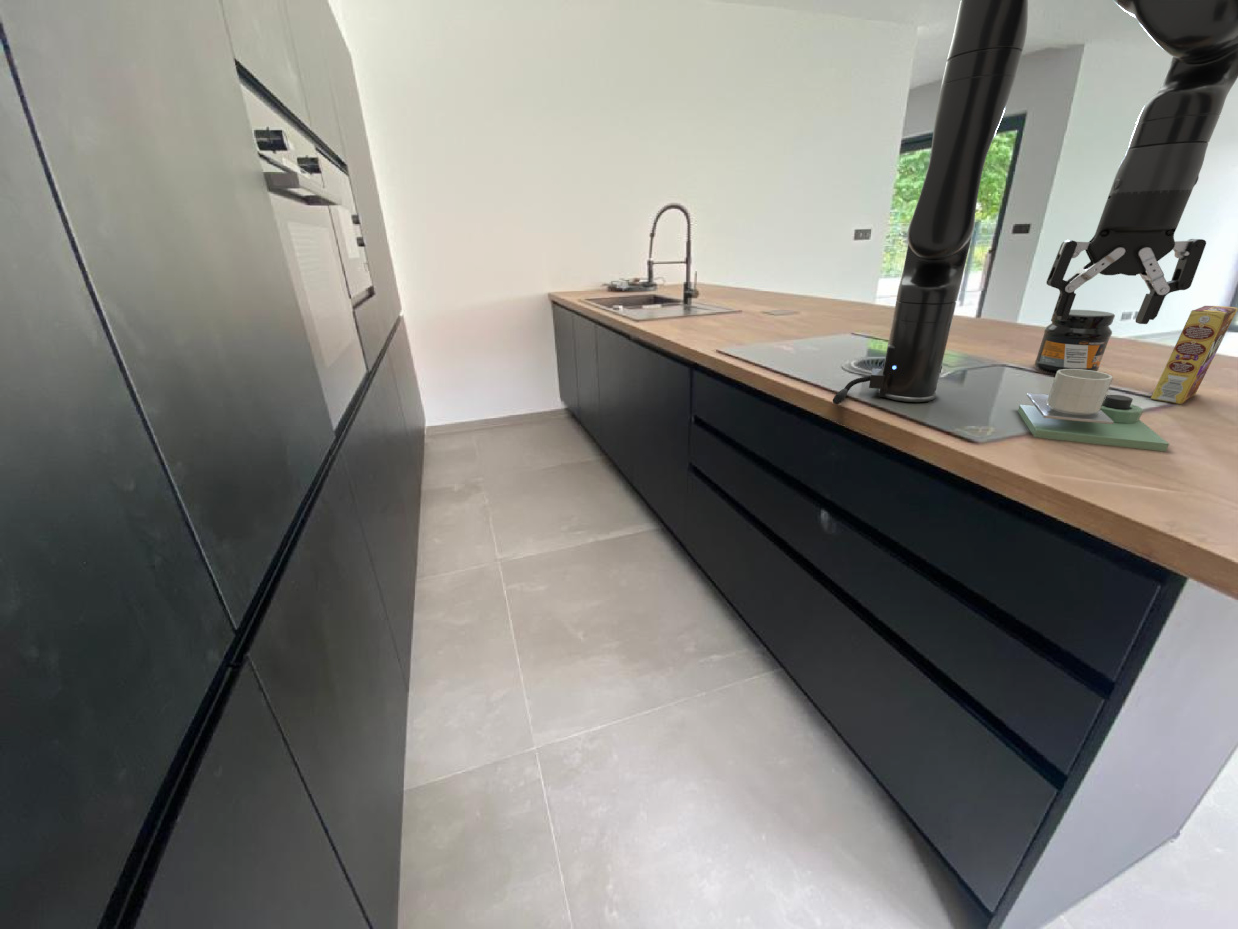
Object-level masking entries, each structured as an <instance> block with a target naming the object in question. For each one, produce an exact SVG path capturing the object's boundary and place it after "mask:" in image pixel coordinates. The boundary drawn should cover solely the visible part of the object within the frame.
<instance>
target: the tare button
mask: <svg viewBox="0 0 1238 929" xmlns="http://www.w3.org/2000/svg"><path fill="white" fill-rule="evenodd" d="M1132 403H1133V398H1132V397H1130V396H1127V395H1121V394H1106V397H1105V400H1104V403H1103V406H1104V407H1107V408H1113V409H1120V410H1129V408H1130V405H1131V404H1132Z"/></svg>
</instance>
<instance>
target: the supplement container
mask: <svg viewBox="0 0 1238 929" xmlns="http://www.w3.org/2000/svg"><path fill="white" fill-rule="evenodd" d="M1115 317H1116V314H1115V313H1112V312H1109V311H1103V310H1091V309H1071V310H1070V313H1069V316H1068V318H1067V320H1066V321H1060V320H1058V319H1057V316H1056V315H1054V311H1053V313H1052V316H1051V318H1050V322H1051V323H1050V324H1048V325H1046V327H1045V328H1044V332H1043V333H1044V334H1043V335H1042V336H1043V337H1042V339H1041V342H1040V346H1039V348H1038V352H1037V356H1036V358H1035V360H1034V367H1035V368H1036V369H1037V370H1038V371H1041V372H1043V373H1047V374H1052V375H1056V373H1057V371H1058V370H1062V369H1083V370H1092V371H1098V372H1099V369H1100V365H1101V362H1102V359H1103V357H1104V354H1105V351H1106V348H1107V346H1108V344H1109V340H1110V338H1111V337H1112V335H1113V331H1112V329H1111V328H1110V326H1112V325H1113V323H1114V321H1115Z"/></svg>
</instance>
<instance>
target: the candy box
mask: <svg viewBox="0 0 1238 929" xmlns="http://www.w3.org/2000/svg"><path fill="white" fill-rule="evenodd" d="M1237 312H1238V307H1236V306H1235V307H1234V306H1225V305H1203V306H1201V307H1199V308H1196V309H1192V310H1190V314H1189V316H1188V317H1187V320H1186V322H1185V324H1184V326H1183V329H1182V331H1181V333H1180V335H1179V336H1178V339H1177V341H1176V343H1175V346H1174V348H1173V349H1172V352H1171V354H1170V356H1169V358H1168V361H1167V362H1166V364H1165V366H1164V369H1163V371H1162V373H1161V375H1160V378H1159V380H1158V382H1157V384H1156V387H1155V389H1154V391H1153V392H1152V395H1151V397H1150V399H1151V400H1154V401H1160V402H1164V403H1171V404H1176V405H1182V404H1183V403H1185V402H1186V401H1188V400H1189V399H1191V398H1193V397H1194V396H1195V395H1196V394H1197V392H1198V390H1199V388H1200V386H1201V384H1202V382H1203V380H1204V378H1205V376H1206V374H1207V372H1208V370H1209V368H1210V366H1211V364H1212V363H1213V360H1214V358H1215V357H1216V354H1217V352H1218V350H1219V348H1220V346H1221V344H1222V342H1223V340H1224V337H1225V335H1226V334H1227V331H1228V329H1229V327H1230V326H1231V324H1232V322H1233V320H1234V317H1235V315H1236V313H1237Z"/></svg>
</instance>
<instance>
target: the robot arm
mask: <svg viewBox="0 0 1238 929" xmlns="http://www.w3.org/2000/svg"><path fill="white" fill-rule="evenodd" d="M1112 2H1114V3H1115V4H1116V5H1117V6H1118V7H1119V8H1120V9H1122V10H1123V11H1124V12H1126V13H1128V14H1129V15H1130V16H1132V17H1134V18H1135V19H1136V21H1137V23H1138V24H1139V25H1140V26H1141V27H1142V28H1143V30H1144V31H1145V32H1146V33H1147V35H1148V36H1149V37H1150V38H1151V39H1152V40H1153V41H1154V43H1156V45H1157V46H1159V47H1160V48H1161V49H1162V50H1163V51H1164V52H1165V53H1167V54H1168V55H1170V56H1171V57H1172V58H1171V61H1170V64H1169V66H1168V69H1167V70H1166V74H1165V75H1164V78H1163V80H1162V83H1161V85H1160V88H1159V90H1158V92H1157V93H1155V94H1154V95H1152V96H1151V97H1150V98H1149V99H1148V100H1147V101H1146V102H1145V104H1144V106H1143V108H1142V110H1141V112H1140V114H1139V115H1138V118H1137V121H1136V123H1135V124H1136V125H1135V126H1134V130H1133V132H1132V135H1131V137H1130V141H1129V144H1128V148H1127V150H1126V152H1125V154H1124V157H1123V158H1122V160H1121V162H1120V164H1119V166H1118V169H1117V170H1116V173H1115V176H1114V179H1113V182H1112V185H1111V187H1110V191H1109V194H1108V196H1107V199H1106V202H1105V204H1104V208H1103V211H1102V213H1101V216H1100V218H1099V222H1098V224H1097V227H1096V230H1095V233H1094V236H1093V237H1092V238H1091V239H1090V240H1089V241H1075V240H1072V239H1067V240H1064V241H1062V242H1061V244H1060V246H1059V249H1058V252H1057V254H1056V256H1055V259H1054V262H1053V264H1052V267H1051V268H1050V271H1049V274H1048V277H1047V279H1046V285H1047V286H1049V287H1051V288H1054V289H1057V290H1059V294H1058V298H1057V300H1056V304H1055V306H1054V310H1053V312H1054V315H1056V316H1057V319H1058V320H1060V321H1066V320H1067V318H1068V316H1069V313H1070V310H1072V307H1073V304H1074V301H1075V298H1076V296H1077V293H1075V291H1076V290H1078V289H1079V288H1080V287H1081V286H1083V285H1084V284H1085V283H1087V282H1088V281H1090V280H1092V279H1094V278H1095V277H1096V276H1097V275H1099V274H1100V275H1102V276H1116V275H1117V276H1118V275H1124V276H1132V277H1133V276H1134V277H1135V276H1137V275H1139V276H1140V277H1141V280H1143V281H1144V282H1145V284H1146V286H1147V288H1148V290H1149V293H1146V294H1145V296H1144V298H1143V301H1142V303H1141V305H1140V308H1139V310H1138V313H1137V314H1136V317H1135V323H1137V324H1138V325H1148V324H1149V322H1150V321H1151V320H1152V321H1154V320H1155V319H1156V318H1157V317H1158V315H1159V312H1160V310H1161V308H1162V305H1163V303H1164V301H1165V299H1166V297H1167V296H1168V295H1169V294H1170V293H1175V292H1179V291H1186V290H1189V289H1190V288H1191V286H1192V284H1193V282H1194V279H1195V276H1196V273H1197V270H1198V267H1199V266H1200V263H1201V260H1202V257H1203V254H1204V251H1205V249H1206V245H1207V241H1206V240H1205V239H1203V238H1202V239H1201V238H1190V239H1187V240H1177V241H1176V240H1175V233H1176V231H1177V229H1178V226H1179V224H1180V221H1181V220H1182V216H1183V214H1184V211H1185V209H1186V207H1187V204H1188V202H1189V200H1190V197H1191V195H1192V192H1193V190H1194V187H1195V186H1196V185H1197V184H1198V182H1199V175H1200V172H1201V171H1202V168H1203V165H1204V162H1205V158H1206V154H1207V153H1206V152H1207V149H1208V146H1209V142H1210V141H1211V138H1212V136H1213V134H1214V132H1215V129H1216V127H1217V124H1218V121H1219V119H1220V118H1221V117H1220V116H1221V115H1222V112H1223V109H1224V106H1225V102H1226V100H1227V97H1228V95H1229V93H1230V91H1231V89H1232V87H1233V86H1234V84H1236V81H1237V80H1238V0H1112ZM1028 18H1029V0H960V2H959V6H958V10H957V15H956V18H955V19H956V20H955V23H954V24H955V25H954V30H953V34H952V39H951V43H950V47H949V50H948V54H947V59H946V63H945V66H944V71H943V77H942V79H941V85H940V88H939V89H940V90H939V93H938V100H937V106H936V111H935V118H934V124H933V132H932V140H931V141H932V142H931V150H930V156H929V157H930V158H929V163H928V167H927V171H926V174H925V178H924V181H923V183H922V188H921V191H920V194H919V197H918V200H917V202H916V206H915V209H914V211H913V215H912V217H911V220H910V223H909V225H908V229H907V247H906V248H907V249H906V254H905V259H904V265H903V269H902V270H903V271H902V272H901V273H902V274H901V277H900V281H899V285H898V289H897V294H896V300H895V306H894V310H893V316H892V322H891V327H890V333H889V337H888V342H887V345H886V352H885V355H884V356H885V357H884V363H883V368H876V367H875V368H874V367H873V368H872V369H871V374H870V375H866V376H862V377H861V376H860V377H858V378H855V379H853V380H850V381H849V382H847V384H846V385H845V386H844V388H841V390H838V392H837V393H836V394H834V397H833V398H832V403H833V404H834V405H839V404H841V403H842V402H843V401H844V400H845V399H846V397H847V395H848V394H849V391H850V390H851V389H852V387H854V386H856V385H858V384H861V383H866V382H869V385H868V389H877V390H878V398H885V399H889V400H892V401H899V402H906V403H926V402H931V401H933V400H934V399H935V398H936V395H937V394H936V391H937V389H938V383H939V378H940V374H941V373H942V370H943V362H944V358H945V352H946V349H947V345H948V340H949V336H950V332H951V327H952V324H953V320H954V315H955V311H956V307H957V303H958V302H957V301H958V298H959V293H960V289H961V286H962V281H963V276H964V273H965V267H966V263H967V259H968V253H969V251H970V247H971V243H972V238H973V234H974V230H975V224H976V210H977V204H978V197H979V191H980V186H981V180H982V175H983V171H984V168H985V167H984V166H985V163H986V159H987V156H988V154H989V150H990V148H991V145H992V143H993V140H994V138H995V136H996V134H997V130H998V128H999V126H1000V123H1001V121H1002V118H1003V116H1004V113H1005V111H1006V108H1007V105H1008V102H1009V99H1010V96H1011V93H1012V91H1013V87H1014V84H1015V80H1016V77H1017V74H1018V70H1019V67H1020V61H1021V59H1022V55H1023V51H1024V49H1025V48H1024V47H1025V43H1026V39H1027V34H1028V33H1027V32H1028V31H1027V30H1028ZM1083 251H1085V253H1086V255H1087V258H1088V259H1089V261H1088V262H1087V263H1086V264H1084V265H1083V266H1081V267H1080V268H1079V269H1078V270H1077V271H1076V272H1075V273H1074V274H1073V275H1071V277H1069V278H1068V279H1067V280H1065V279H1064V278H1065V275H1066V273H1067V271H1068V269H1069V266H1070V264H1071V261H1072V259H1076V258H1077V257H1079V255H1080V254H1081V252H1083ZM1172 251H1173V252H1174V257H1175V258H1176V259H1177V263H1176V264H1175V268H1174V271H1173V274H1172V277H1171V280H1168V281H1167V280H1166V278H1165V274H1164V271H1163V270H1162V267H1161V265H1160V264H1159V261H1161V259H1163V258H1165V256H1167V255H1169V253H1171V252H1172Z"/></svg>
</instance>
